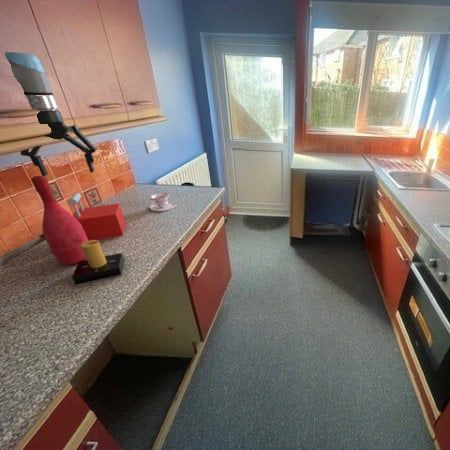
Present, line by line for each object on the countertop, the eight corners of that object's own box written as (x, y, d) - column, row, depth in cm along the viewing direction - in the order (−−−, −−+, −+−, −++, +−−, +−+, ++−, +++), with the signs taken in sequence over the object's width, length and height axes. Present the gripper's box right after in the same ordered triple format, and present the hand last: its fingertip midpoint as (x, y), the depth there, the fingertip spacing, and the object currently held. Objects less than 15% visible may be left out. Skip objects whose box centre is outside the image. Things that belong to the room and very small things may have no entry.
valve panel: (75, 284, 77) (71, 277, 75) (82, 268, 84) (78, 260, 82) (121, 274, 82) (118, 267, 80) (124, 259, 89) (121, 252, 87)
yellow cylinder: (88, 269, 79) (78, 247, 75) (91, 262, 82) (82, 240, 78) (105, 266, 80) (96, 244, 76) (107, 258, 84) (99, 237, 80)
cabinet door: (69, 222, 93) (60, 202, 89) (77, 210, 102) (69, 191, 98) (116, 216, 99) (109, 196, 95) (119, 205, 108) (113, 187, 104)
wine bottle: (52, 269, 83) (5, 182, 69) (66, 252, 91) (26, 172, 77) (87, 264, 86) (49, 180, 71) (98, 248, 94) (65, 171, 80)
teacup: (171, 200, 136) (168, 190, 133) (179, 207, 128) (176, 196, 126) (146, 206, 129) (143, 194, 126) (153, 214, 121) (150, 202, 118)
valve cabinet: (82, 242, 97) (73, 222, 93) (88, 228, 107) (80, 210, 102) (123, 235, 103) (116, 216, 99) (125, 223, 112) (119, 205, 108)
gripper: (-17, 110, 73) (19, 179, 83) (88, 111, 84) (109, 172, 94) (-4, 108, 79) (28, 173, 89) (93, 109, 90) (111, 167, 100)
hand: (69, 173), depth 91 cm, fingers open, 13 cm apart
